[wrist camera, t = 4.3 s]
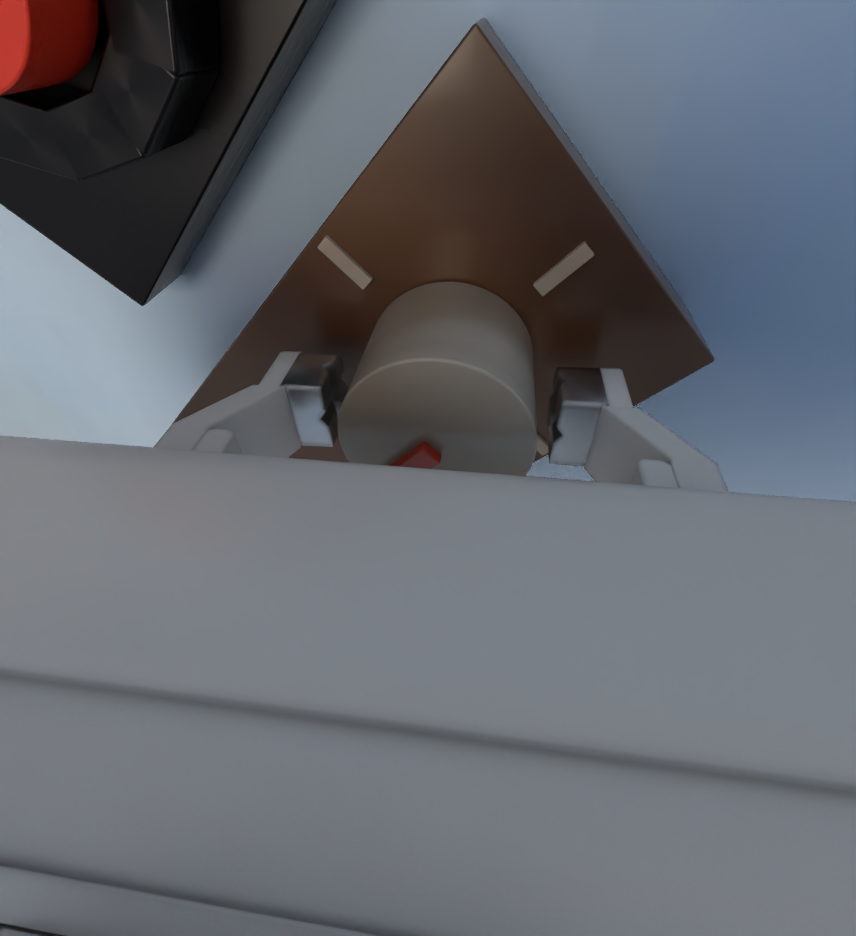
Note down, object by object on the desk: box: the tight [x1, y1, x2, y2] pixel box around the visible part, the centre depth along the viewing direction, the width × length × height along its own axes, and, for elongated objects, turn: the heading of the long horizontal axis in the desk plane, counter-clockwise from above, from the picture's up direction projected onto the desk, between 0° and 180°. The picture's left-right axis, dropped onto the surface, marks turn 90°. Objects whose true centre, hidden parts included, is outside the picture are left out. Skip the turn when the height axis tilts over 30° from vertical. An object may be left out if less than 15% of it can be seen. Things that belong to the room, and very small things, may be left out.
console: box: [172, 18, 715, 463], centre depth 15 cm, size 14×9×3 cm, turn 135°
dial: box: [338, 282, 537, 476], centre depth 12 cm, size 4×4×4 cm
